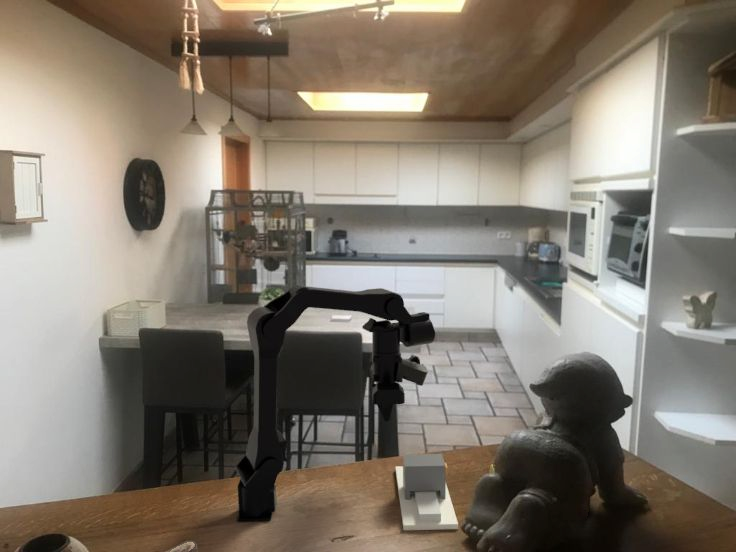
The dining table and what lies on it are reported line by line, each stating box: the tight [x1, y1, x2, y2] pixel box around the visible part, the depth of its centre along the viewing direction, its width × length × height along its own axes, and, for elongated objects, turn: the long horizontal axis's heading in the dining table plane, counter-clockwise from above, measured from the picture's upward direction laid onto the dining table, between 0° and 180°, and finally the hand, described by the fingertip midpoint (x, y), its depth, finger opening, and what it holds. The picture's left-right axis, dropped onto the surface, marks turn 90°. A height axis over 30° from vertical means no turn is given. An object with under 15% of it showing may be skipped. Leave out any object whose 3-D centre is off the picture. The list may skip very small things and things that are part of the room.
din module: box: [402, 453, 449, 500], centre depth 113 cm, size 9×5×7 cm, turn 91°
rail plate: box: [395, 465, 459, 531], centre depth 114 cm, size 10×22×2 cm, turn 1°
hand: (386, 420), depth 120 cm, fingers closed
